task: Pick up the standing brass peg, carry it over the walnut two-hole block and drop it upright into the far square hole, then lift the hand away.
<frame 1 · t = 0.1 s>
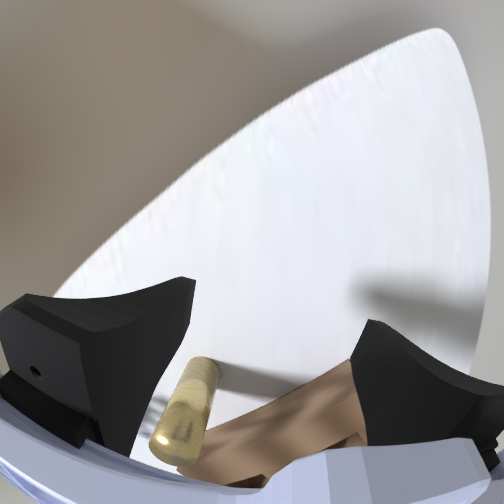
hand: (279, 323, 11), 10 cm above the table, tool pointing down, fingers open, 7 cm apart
peg: (203, 371, 23), on the table
hole block: (293, 441, 24), on the table
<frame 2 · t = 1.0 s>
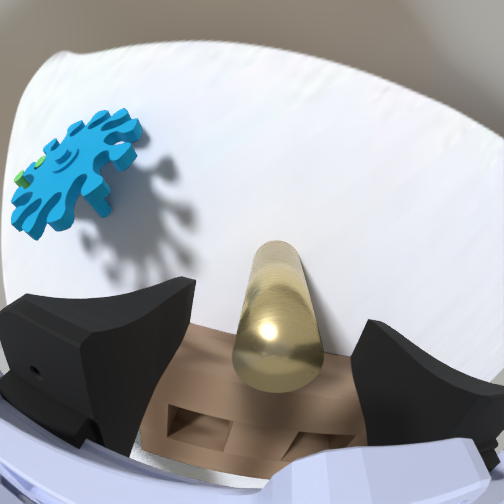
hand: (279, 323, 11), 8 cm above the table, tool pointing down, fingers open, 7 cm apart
gear: (97, 165, 17), on the table
peg: (276, 263, 18), on the table
hole block: (262, 398, 22), on the table
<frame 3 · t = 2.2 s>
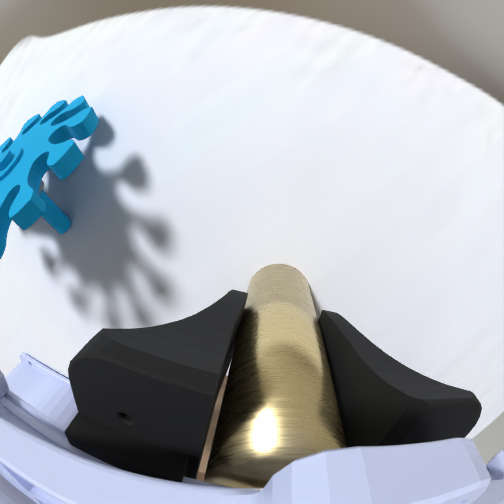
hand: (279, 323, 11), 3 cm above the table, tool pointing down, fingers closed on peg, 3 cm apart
gear: (56, 168, 13), on the table
peg: (278, 293, 14), on the table, touching gripper
hole block: (260, 440, 17), on the table
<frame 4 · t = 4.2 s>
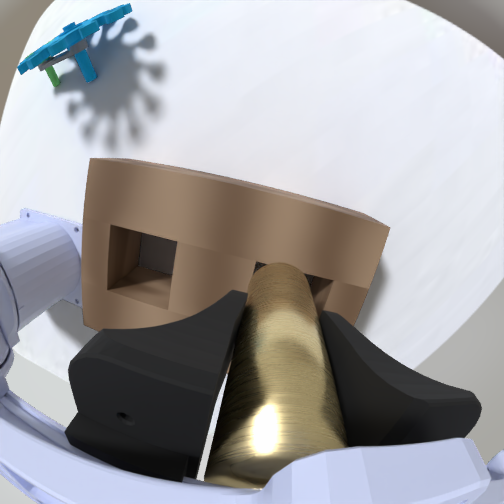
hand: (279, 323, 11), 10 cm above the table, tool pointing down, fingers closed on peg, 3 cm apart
gear: (93, 50, 17), on the table
peg: (278, 291, 14), point 7 cm above the table, touching gripper
hole block: (223, 260, 21), on the table
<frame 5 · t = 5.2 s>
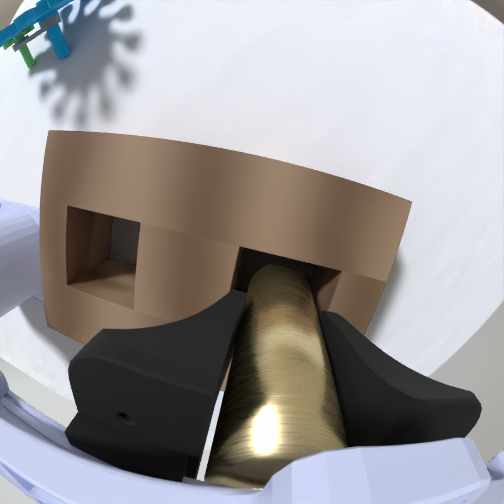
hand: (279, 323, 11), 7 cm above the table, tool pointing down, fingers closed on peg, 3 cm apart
gear: (69, 27, 13), on the table
peg: (278, 292, 14), point 4 cm above the table, touching gripper
hole block: (205, 250, 17), on the table
when the fingers open (6 cm above the table, at t = 6.1 s): peg drops 3 cm, resting in hole block.
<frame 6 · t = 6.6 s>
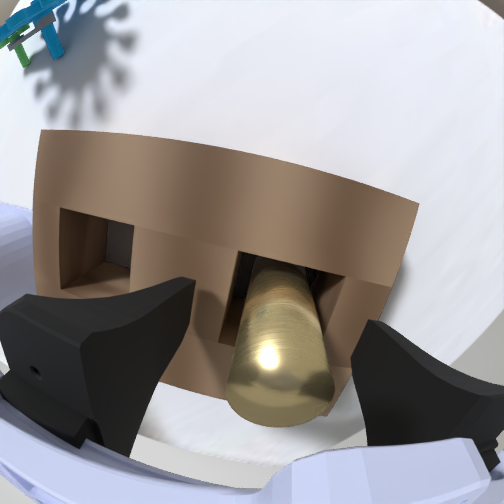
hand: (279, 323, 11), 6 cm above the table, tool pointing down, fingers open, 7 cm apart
gear: (64, 26, 13), on the table
peg: (278, 270, 17), resting in hole block
hole block: (203, 253, 17), on the table
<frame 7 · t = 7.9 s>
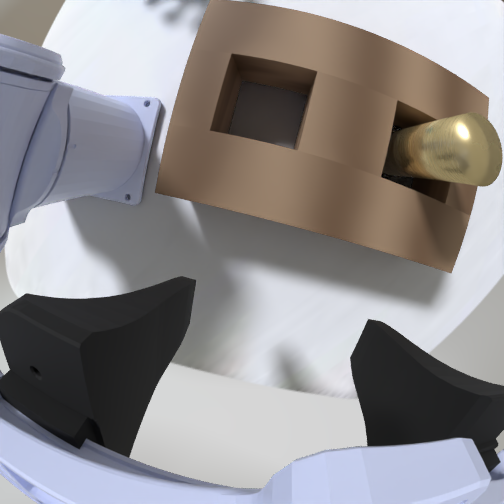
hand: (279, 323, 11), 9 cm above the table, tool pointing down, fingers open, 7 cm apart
peg: (390, 154, 17), resting in hole block
hole block: (332, 134, 17), on the table
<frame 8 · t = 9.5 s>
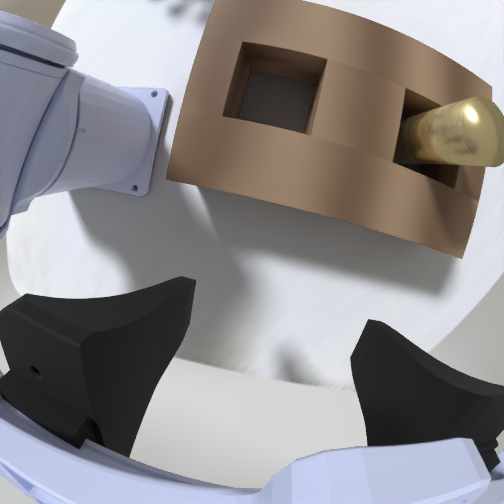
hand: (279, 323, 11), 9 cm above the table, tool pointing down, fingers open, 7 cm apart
peg: (398, 143, 17), resting in hole block
hole block: (340, 123, 17), on the table
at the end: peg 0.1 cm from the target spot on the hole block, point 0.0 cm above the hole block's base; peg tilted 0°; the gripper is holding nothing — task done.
